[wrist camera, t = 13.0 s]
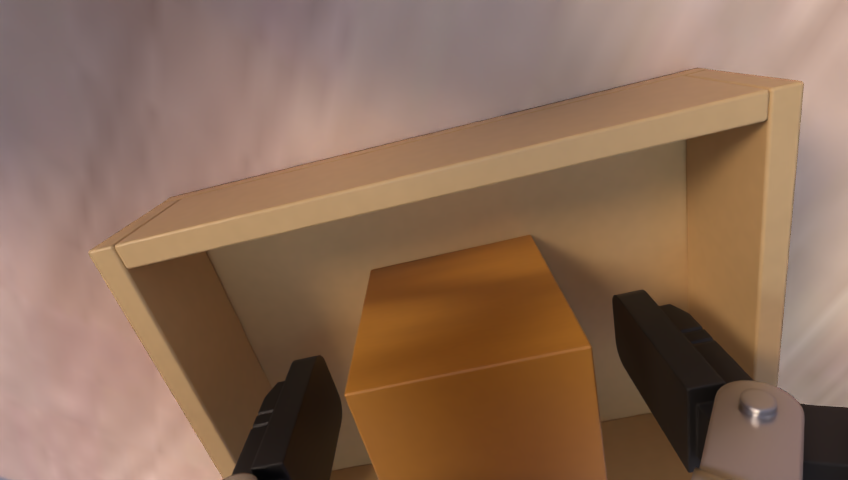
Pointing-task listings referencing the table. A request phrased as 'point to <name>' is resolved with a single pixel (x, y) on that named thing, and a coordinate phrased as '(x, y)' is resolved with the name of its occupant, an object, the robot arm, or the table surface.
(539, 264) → the ochre block
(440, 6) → the table surface
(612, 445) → the sand bin
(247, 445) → the robot arm
